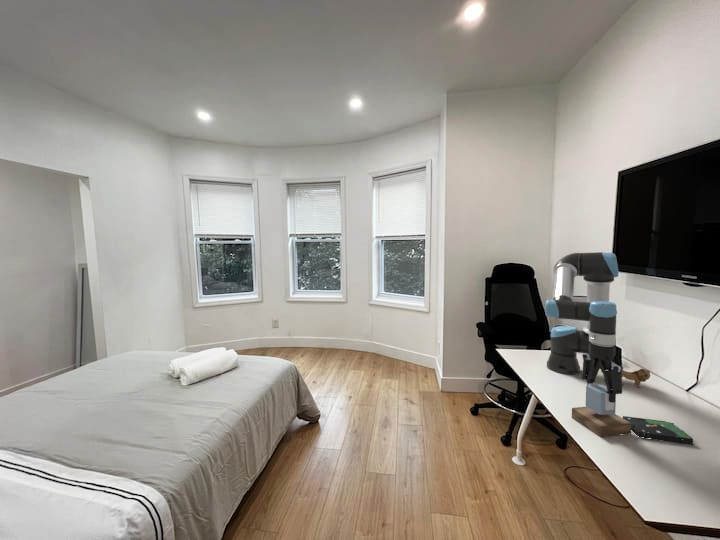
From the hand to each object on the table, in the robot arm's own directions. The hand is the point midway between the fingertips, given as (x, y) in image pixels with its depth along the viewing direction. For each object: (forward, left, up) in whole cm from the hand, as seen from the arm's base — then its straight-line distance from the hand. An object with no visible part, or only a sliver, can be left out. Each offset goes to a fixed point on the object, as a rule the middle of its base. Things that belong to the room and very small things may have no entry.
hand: (600, 404), depth 107 cm
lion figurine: (-26, +44, -8) cm, 51 cm away
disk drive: (+6, +15, -9) cm, 19 cm away
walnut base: (0, 0, -8) cm, 8 cm away
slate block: (0, 0, -2) cm, 2 cm away
